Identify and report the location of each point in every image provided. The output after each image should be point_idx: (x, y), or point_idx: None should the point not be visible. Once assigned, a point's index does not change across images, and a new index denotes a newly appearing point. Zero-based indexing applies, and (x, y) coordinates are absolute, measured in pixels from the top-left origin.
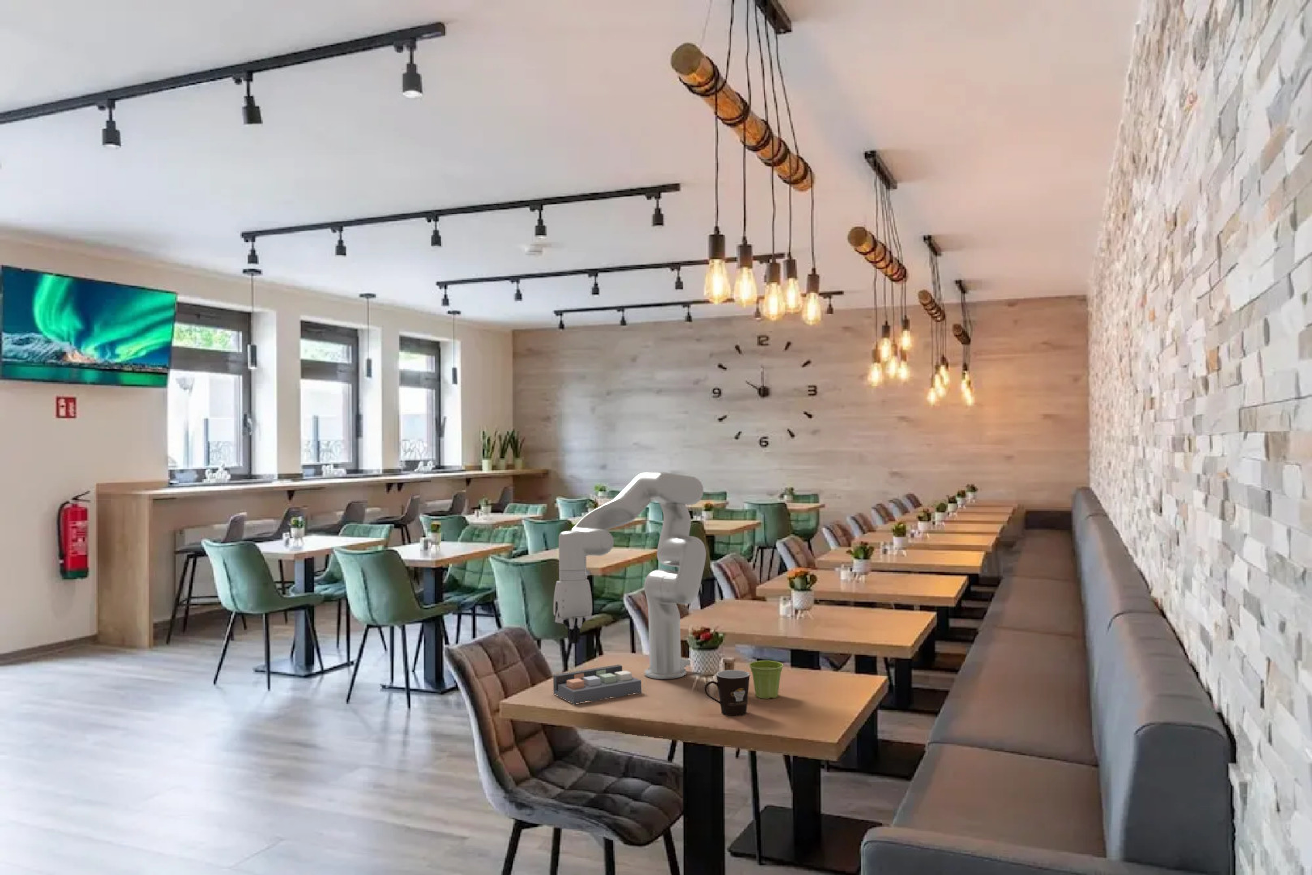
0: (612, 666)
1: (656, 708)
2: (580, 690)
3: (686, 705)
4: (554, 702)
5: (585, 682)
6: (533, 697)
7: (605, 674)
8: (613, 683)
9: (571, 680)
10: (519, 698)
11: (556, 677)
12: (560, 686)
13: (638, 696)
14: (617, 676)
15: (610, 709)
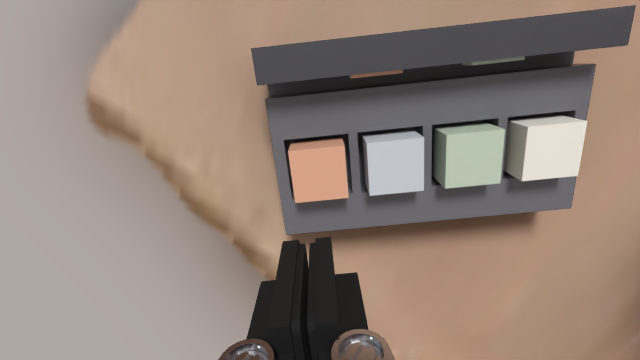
0: (582, 31)
1: (474, 340)
2: (314, 229)
3: (552, 350)
4: (241, 157)
5: (365, 161)
6: (183, 53)
7: (474, 142)
8: (461, 199)
9: (304, 165)
10: (129, 38)
11: (259, 84)
12: (269, 124)
13: (506, 222)
14: (517, 151)
15: (367, 298)
